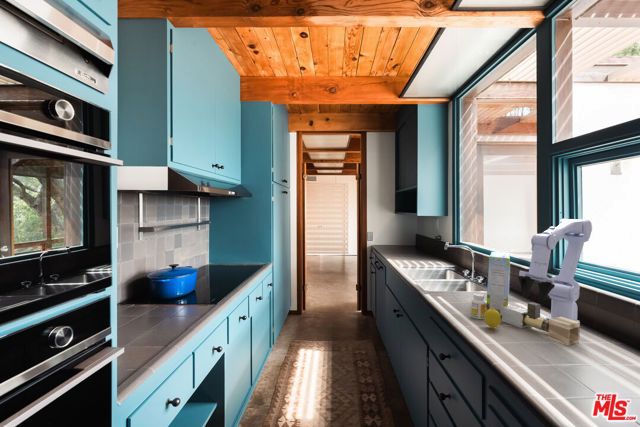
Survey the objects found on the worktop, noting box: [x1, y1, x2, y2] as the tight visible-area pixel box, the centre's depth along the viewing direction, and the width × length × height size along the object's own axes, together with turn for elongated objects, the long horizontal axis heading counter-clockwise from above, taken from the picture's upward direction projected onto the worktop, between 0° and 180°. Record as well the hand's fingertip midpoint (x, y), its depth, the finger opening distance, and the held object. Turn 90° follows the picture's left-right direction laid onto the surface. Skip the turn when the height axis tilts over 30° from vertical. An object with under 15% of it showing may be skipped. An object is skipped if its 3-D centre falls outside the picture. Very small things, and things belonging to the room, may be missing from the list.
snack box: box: [485, 251, 511, 317], centre depth 143 cm, size 22×9×26 cm, turn 148°
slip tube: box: [523, 301, 549, 333], centre depth 122 cm, size 4×16×9 cm, turn 24°
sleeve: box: [501, 305, 531, 329], centre depth 126 cm, size 6×8×6 cm
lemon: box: [483, 308, 502, 329], centre depth 120 cm, size 6×6×8 cm
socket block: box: [548, 317, 581, 346], centre depth 110 cm, size 7×6×7 cm
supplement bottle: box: [470, 293, 487, 320], centre depth 132 cm, size 5×5×10 cm
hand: (533, 298), depth 120 cm, fingers open, 7 cm apart
